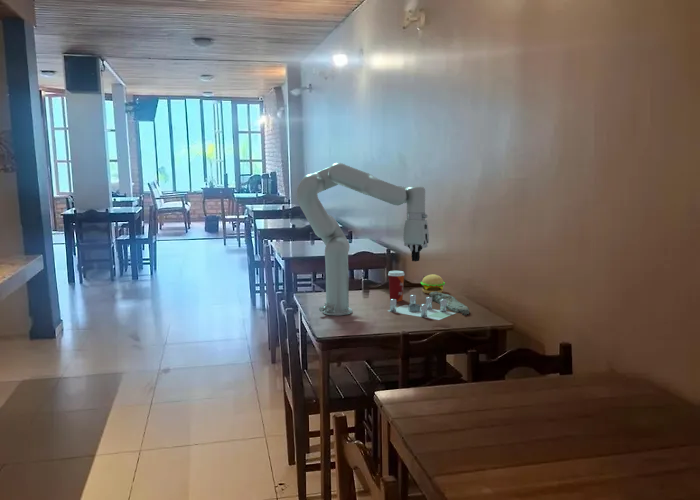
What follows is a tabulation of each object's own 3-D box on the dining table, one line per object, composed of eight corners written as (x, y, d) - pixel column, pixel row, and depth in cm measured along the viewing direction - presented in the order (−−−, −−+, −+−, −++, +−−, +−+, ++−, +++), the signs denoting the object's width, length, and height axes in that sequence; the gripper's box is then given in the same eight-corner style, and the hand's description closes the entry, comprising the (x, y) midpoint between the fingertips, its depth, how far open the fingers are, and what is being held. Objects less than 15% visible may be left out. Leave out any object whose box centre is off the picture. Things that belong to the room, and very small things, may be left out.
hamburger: (447, 294, 283) (447, 276, 282) (422, 294, 283) (422, 277, 282) (442, 289, 295) (443, 272, 294) (418, 289, 295) (419, 272, 294)
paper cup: (405, 304, 264) (405, 273, 262) (388, 304, 264) (388, 273, 262) (404, 300, 272) (404, 270, 270) (387, 300, 272) (387, 270, 270)
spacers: (429, 318, 234) (429, 306, 233) (388, 311, 246) (388, 299, 246) (447, 311, 245) (447, 299, 245) (407, 304, 258) (408, 293, 257)
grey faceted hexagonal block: (418, 312, 244) (418, 306, 244) (406, 311, 246) (406, 305, 246) (421, 310, 248) (421, 304, 248) (409, 309, 250) (409, 303, 250)
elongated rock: (452, 319, 242) (475, 319, 244) (453, 307, 241) (476, 307, 243) (423, 297, 275) (443, 297, 278) (424, 286, 275) (444, 286, 277)
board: (439, 322, 232) (439, 319, 232) (386, 313, 247) (386, 310, 247) (456, 315, 243) (456, 313, 243) (405, 306, 258) (405, 304, 258)
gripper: (436, 216, 240) (435, 261, 242) (405, 215, 249) (405, 258, 252) (426, 218, 234) (426, 263, 236) (395, 216, 243) (395, 260, 246)
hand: (415, 260), depth 244 cm, fingers closed
